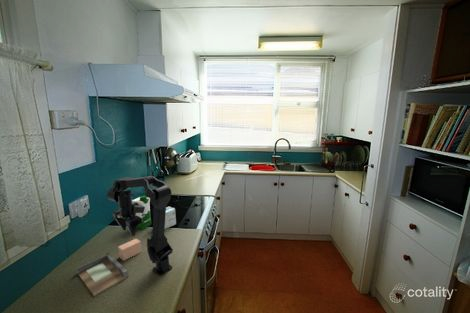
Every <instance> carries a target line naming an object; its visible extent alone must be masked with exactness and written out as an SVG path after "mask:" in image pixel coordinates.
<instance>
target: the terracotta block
mask: <svg viewBox="0 0 470 313" xmlns="http://www.w3.org/2000/svg"><path fill="white" fill-rule="evenodd" d="M117 247H118V256H119V258H120V260H122V261H123V262H124V260H125V261H127V260H129V259H131V258H132V256H133V257H135V256H136V255H138V254H140V253H142V243H141V240H140V239H138V238H134V239H132V240H130V241H128V242H125V243H123V244H121V245H118V246H117ZM130 257H131V258H130ZM128 258H129V259H128ZM126 259H127V260H126Z"/></svg>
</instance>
